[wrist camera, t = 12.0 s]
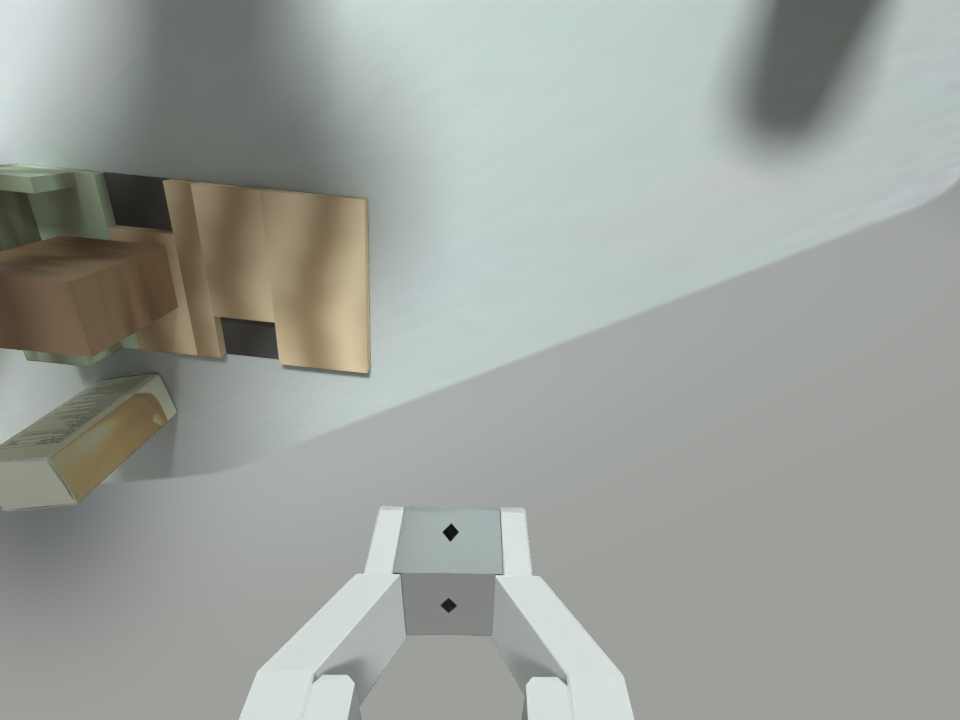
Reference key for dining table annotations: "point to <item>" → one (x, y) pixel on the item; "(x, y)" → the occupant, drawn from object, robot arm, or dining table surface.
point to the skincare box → (81, 442)
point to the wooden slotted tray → (216, 261)
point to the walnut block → (81, 293)
